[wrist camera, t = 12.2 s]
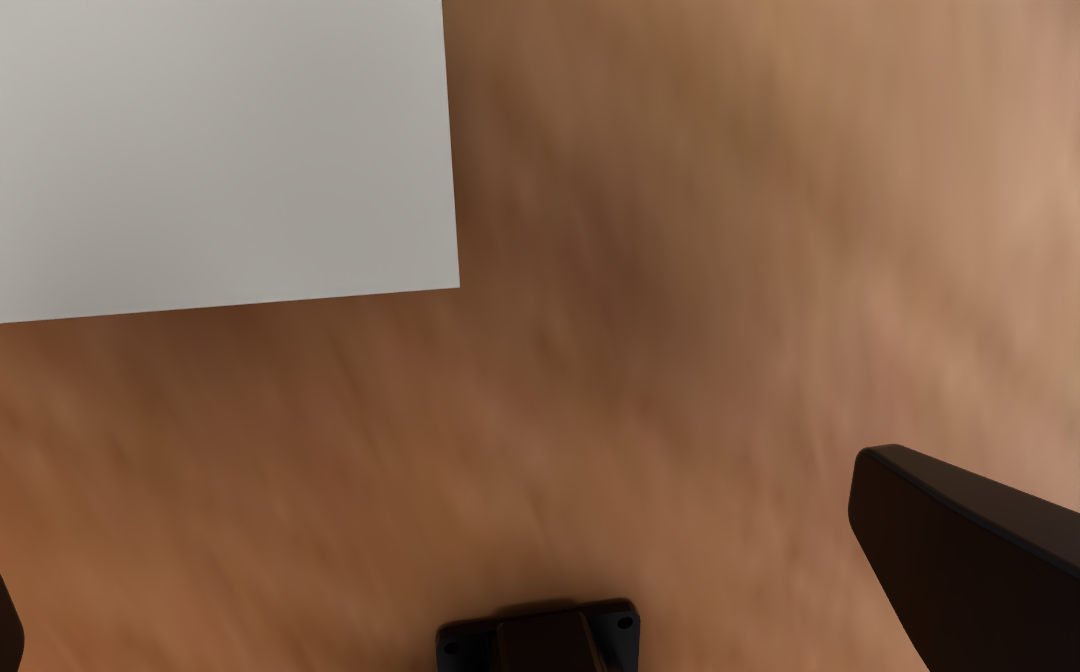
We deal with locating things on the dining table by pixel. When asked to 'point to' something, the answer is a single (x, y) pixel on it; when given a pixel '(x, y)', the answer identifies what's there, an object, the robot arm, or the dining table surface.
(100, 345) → the dining table surface
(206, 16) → the socket block
